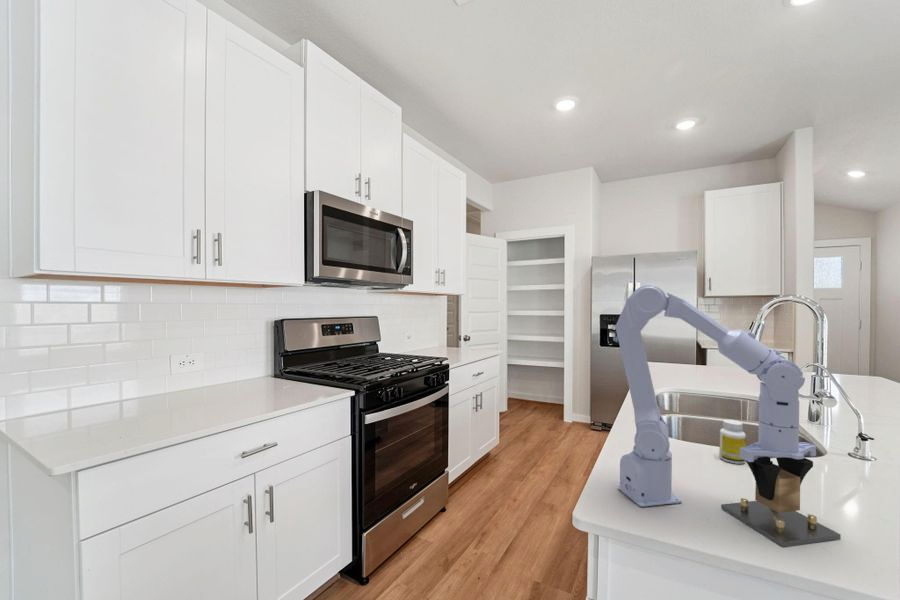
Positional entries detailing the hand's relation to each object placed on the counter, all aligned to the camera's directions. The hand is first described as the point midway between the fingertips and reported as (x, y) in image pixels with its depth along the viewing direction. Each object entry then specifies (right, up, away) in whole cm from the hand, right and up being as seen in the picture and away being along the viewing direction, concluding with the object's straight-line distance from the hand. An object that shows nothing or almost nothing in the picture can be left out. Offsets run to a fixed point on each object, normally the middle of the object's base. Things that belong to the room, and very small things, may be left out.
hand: (777, 496), depth 73 cm
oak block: (0, -2, 0) cm, 2 cm away
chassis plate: (0, -5, 0) cm, 5 cm away
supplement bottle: (+11, -5, +28) cm, 30 cm away
